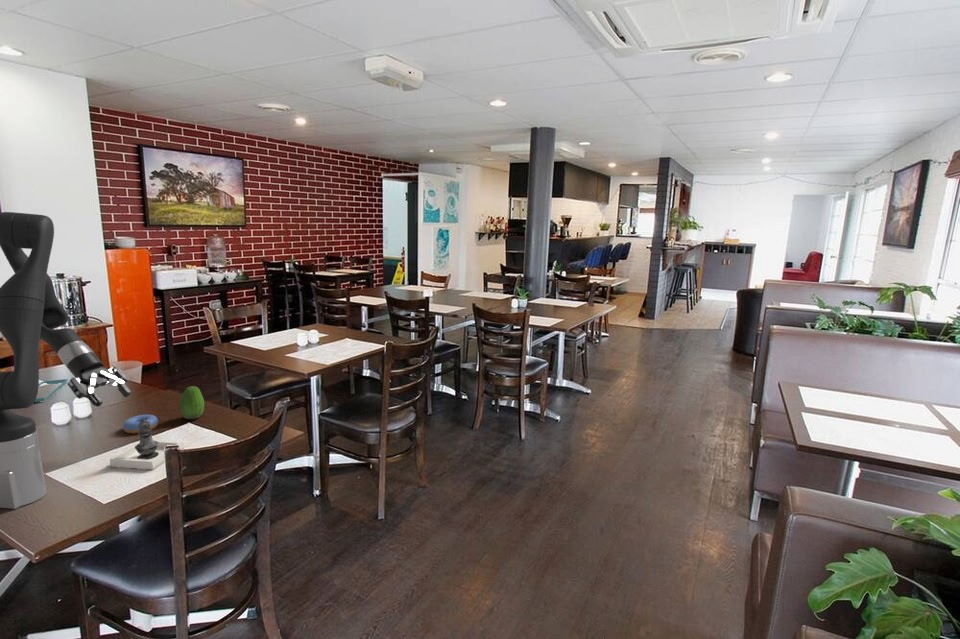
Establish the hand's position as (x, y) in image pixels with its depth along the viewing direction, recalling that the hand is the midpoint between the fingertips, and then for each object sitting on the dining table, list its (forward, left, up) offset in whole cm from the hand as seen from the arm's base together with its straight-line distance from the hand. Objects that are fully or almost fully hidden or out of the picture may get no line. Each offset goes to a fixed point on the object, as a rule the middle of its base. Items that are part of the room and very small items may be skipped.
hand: (114, 400), depth 147 cm
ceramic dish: (-2, -10, -17) cm, 20 cm away
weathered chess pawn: (-2, -10, -17) cm, 20 cm away
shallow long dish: (+45, +72, -18) cm, 87 cm away
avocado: (+28, -3, -17) cm, 33 cm away
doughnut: (+17, +8, -17) cm, 26 cm away
